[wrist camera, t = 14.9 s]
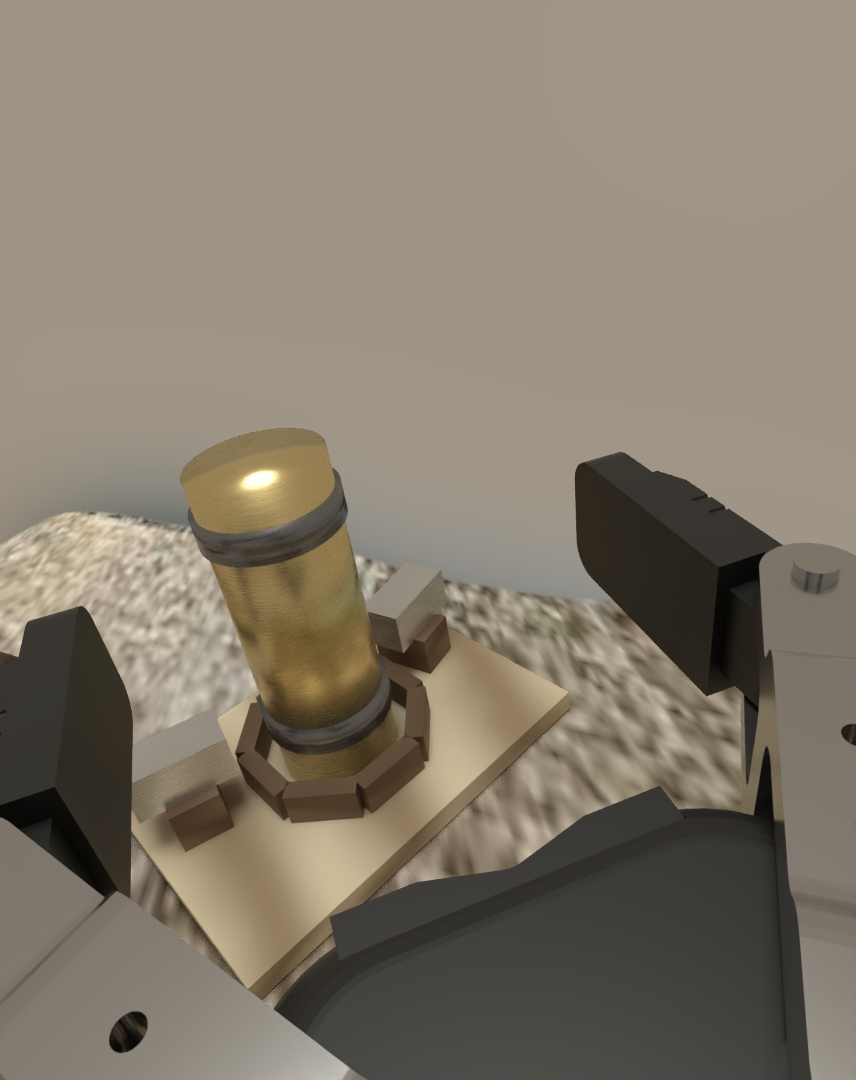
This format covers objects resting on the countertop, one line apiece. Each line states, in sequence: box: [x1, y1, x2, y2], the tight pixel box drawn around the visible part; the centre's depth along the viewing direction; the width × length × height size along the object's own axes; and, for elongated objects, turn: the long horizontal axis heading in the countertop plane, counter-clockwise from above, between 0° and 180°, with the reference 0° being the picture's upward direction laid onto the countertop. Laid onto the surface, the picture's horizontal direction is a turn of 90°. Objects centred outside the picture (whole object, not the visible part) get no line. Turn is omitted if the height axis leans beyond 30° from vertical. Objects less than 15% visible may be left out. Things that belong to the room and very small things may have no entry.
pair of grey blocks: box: [132, 562, 447, 823], centre depth 32 cm, size 16×3×2 cm, turn 133°
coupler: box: [180, 428, 397, 781], centre depth 29 cm, size 5×5×14 cm
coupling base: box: [131, 615, 570, 999], centre depth 32 cm, size 17×12×3 cm
